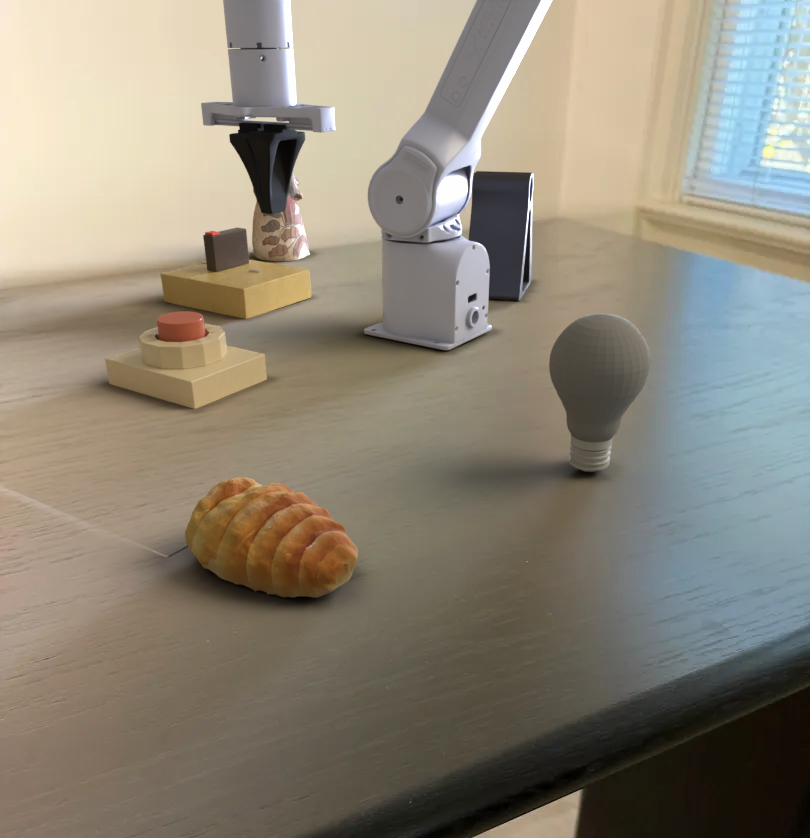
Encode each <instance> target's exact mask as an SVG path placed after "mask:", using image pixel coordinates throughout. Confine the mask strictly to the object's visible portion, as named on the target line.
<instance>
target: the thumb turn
mask: <svg viewBox="0 0 810 838" xmlns="http://www.w3.org/2000/svg"><path fill="white" fill-rule="evenodd" d="M202 238H203V247H204V253H205V261H206V264H207V270H209V271H215V272H217V271H221V270H225V269H228V268H232V267H236V266H240V265H243V264H247V263H249V260H250V255H249V245H248V234H247V228H244V227H233V228H229V229H225V230H219V231H216V230H209V231H205V232H204V234H203V235H202Z"/></svg>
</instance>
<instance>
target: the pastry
mask: <svg viewBox="0 0 810 838" xmlns="http://www.w3.org/2000/svg"><path fill="white" fill-rule="evenodd" d="M184 539H185V542H186V545H187V547H188V549H189V550H190V552H191V553H192V554H193V555H194V557H195V558H196V559H197V561H198V562H199V564H200V565H201V566H202V568H203V569H204V570H209V571H210V572H212V573H214V574H215V575H216V576H217V578H219V579H222V580H224V581H226V582H230V583H233V584H234V585H237V586H238V585H242V586H244V587H247V588H249V589H251V590H253V591H254V592H257V591H260V592H264V593H266V595H268V596H269V595H274V596H276V597H277V596H278V597H280V598H297V597H309V598H321V597H323V596H325V595H328V594H331V593H332V592H334V591H335V590H336V589H338V588H339V587H341V586H343V585H344V584H346V583H348V582H349V580H350V579H351V578H352V576H353V572H354V571H355V568H356V566H357V563H358V556H359V555H358V554H359V549H358V547H357V546H356V544H355V543H354V542H353V540H351V538H350V537H349V536H348V534H347V531H346V529H345V526H344V525H343V524H341V523H339V522H336V521H334V519H333V517H332V515H331V513H330V512H329V510H328V509H327V508H324V507H320V506H319V505H318V504H317V503H316V502H314V501H313V500H312V499H311V498H310V497H308V496H307V495H306V494H305V493H304V492H303V491H294V490H293V489H291V487H289V486H287V485H286V484H284V483H282V482H271V483H266V484H264V485H262V484H260V483H258V482H256V481H255V480H254V479H253V478H251V477H245V476H243V477H240V476H239V477H231V478H229V479H225V480H223V481H220V482H218V483H217V484H215V485H213V487H212V488H211V489H209V491H208V493H207V494H206V495H205V496H204V497H203V498H201V499H200V500H198V502H197V503H196V505H195V507H194V509H193V510H192V511H191V516H190V519H189V521H188V523H187V526H186V528H185V531H184Z"/></svg>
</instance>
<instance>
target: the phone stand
mask: <svg viewBox="0 0 810 838" xmlns="http://www.w3.org/2000/svg"><path fill="white" fill-rule="evenodd" d="M534 177H535V176H534V172H527V171H526V172H525V171H524V172H522V171H490V170H489V171H487V170H485V171H484V170H476V171H474V172H473V177H472V192H471V209H470V219H469V230H468V240H469V241H473V242H477V243H479V244H481V245H483V246H484V247H485V249H486V251H487V254H488V257H489V265H490V275H489V300H500V301H501V300H502V301H515V302H516V301H517V302H520V301H521V299H522V297H523V296H524V294H525V293H526V291H527V289H528V287H529V286H530V285H531V283H532V279H533V278H532V277H533V276H532V275H533V198H534V197H533V196H534V183H535V182H534V181H535V180H534Z"/></svg>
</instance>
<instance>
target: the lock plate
mask: <svg viewBox="0 0 810 838" xmlns="http://www.w3.org/2000/svg"><path fill="white" fill-rule="evenodd" d="M160 279H161V287H162V294H163V299H164V300H163V301H164V303H167V304H168V303H169V304H173V305H178V306H183V307H188V308H192V309H197V310H201V311H205V312H210V313H211V312H212V313H215V314H221V315H225V316H230V317H235V318H239V319H244V320H248V319H252V318H253V317H258V316H259V315H263V314H266V313H268V312H272V311H275V310H278V309H281V308H284V307H287V306H290V305H292V304H296V303H299V302H302V301H306V300H308V299H311V298H312V285H311V270H310V268H303V267H298V266H291V265H286V264H285V265H284V264H279V263H273V262H268V261H262V260H261V261H260V260H254V259H249V263H247V264H243V265H240V266H236V267H232V268H228V269H225V270H221V271H217V272H215V271H209V270H207V264H206V260H201V259H199V260H197V263H196V264H193V265H188V266H184V267H181V268H177V269H173V270H169V271H164V272H161V273H160Z"/></svg>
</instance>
